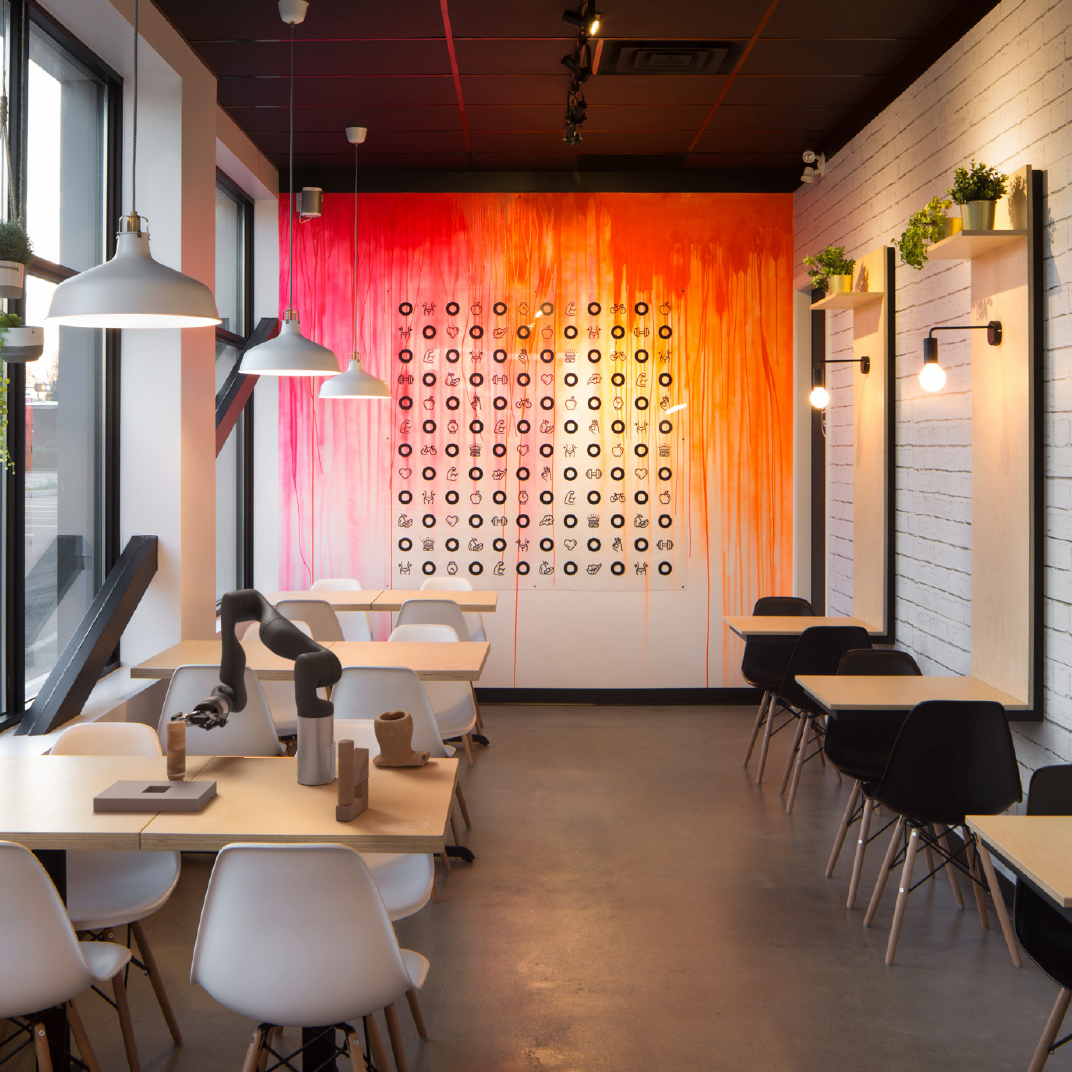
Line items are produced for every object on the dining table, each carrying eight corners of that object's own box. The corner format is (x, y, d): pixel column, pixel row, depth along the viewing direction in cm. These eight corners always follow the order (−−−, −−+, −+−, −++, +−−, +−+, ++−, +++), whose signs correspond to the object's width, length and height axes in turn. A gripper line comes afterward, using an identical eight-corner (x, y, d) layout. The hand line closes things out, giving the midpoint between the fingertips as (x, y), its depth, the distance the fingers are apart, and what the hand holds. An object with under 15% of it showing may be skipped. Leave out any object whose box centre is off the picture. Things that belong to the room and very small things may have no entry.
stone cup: (367, 771, 258) (367, 715, 258) (377, 759, 270) (377, 706, 270) (423, 773, 257) (424, 717, 257) (431, 760, 269) (431, 707, 269)
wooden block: (369, 807, 229) (369, 732, 228) (350, 822, 218) (350, 743, 217) (354, 806, 229) (354, 731, 229) (335, 821, 219) (335, 742, 218)
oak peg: (188, 782, 246) (188, 720, 246) (182, 788, 242) (182, 724, 241) (170, 782, 246) (170, 720, 246) (163, 788, 242) (163, 724, 241)
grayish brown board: (216, 793, 238) (216, 781, 238) (197, 811, 224) (197, 798, 224) (118, 792, 238) (118, 780, 238) (93, 811, 224) (93, 798, 224)
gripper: (185, 698, 271) (163, 712, 255) (236, 699, 271) (218, 713, 255) (185, 724, 271) (163, 740, 255) (236, 725, 272) (218, 741, 255)
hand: (191, 726), depth 255 cm, fingers open, 8 cm apart
